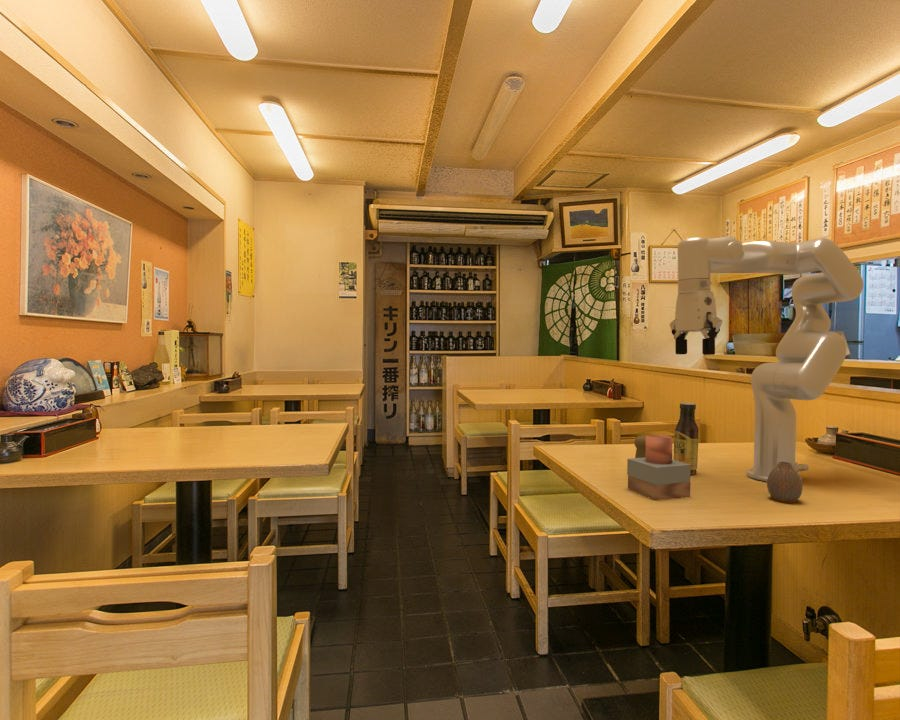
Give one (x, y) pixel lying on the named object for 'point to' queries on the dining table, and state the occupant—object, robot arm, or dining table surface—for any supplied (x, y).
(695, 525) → the dining table surface
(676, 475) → the tower top block
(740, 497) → the dining table surface
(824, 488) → the dining table surface
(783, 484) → the brown egg-shaped piece
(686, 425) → the sauce bottle
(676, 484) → the tower bottom block
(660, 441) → the reddish pink cylinder
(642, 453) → the cork
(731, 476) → the dining table surface
